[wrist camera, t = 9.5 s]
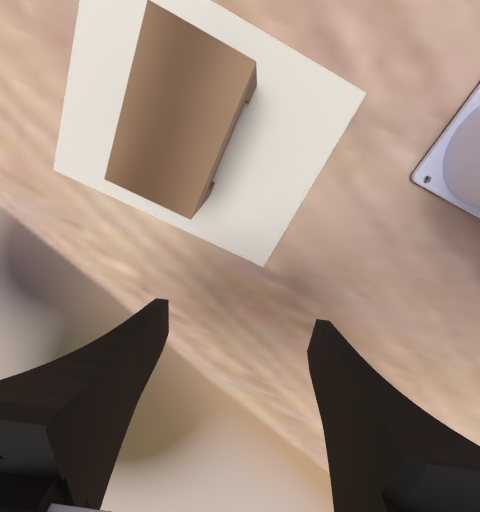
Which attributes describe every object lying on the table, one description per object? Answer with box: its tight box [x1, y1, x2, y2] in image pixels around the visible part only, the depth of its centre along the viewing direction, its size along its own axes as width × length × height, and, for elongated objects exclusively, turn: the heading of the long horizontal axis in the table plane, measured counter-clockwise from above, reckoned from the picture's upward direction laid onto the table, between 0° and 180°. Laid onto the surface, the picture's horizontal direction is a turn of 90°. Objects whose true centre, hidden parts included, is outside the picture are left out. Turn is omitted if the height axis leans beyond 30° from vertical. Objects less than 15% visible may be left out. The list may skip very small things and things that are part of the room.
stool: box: [104, 0, 257, 220], centre depth 15 cm, size 5×8×6 cm, turn 154°
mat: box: [53, 0, 366, 267], centre depth 19 cm, size 18×14×1 cm
